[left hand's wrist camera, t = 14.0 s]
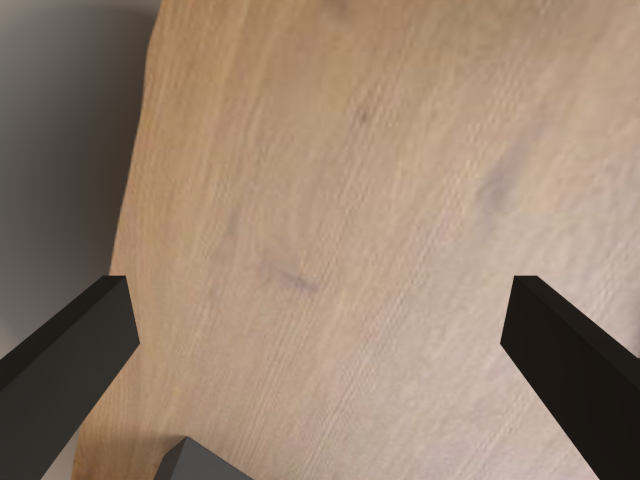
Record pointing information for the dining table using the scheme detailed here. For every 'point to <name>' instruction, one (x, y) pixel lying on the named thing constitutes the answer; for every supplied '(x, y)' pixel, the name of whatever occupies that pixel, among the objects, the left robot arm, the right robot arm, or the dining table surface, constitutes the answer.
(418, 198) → the dining table surface
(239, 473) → the bar
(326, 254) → the dining table surface
